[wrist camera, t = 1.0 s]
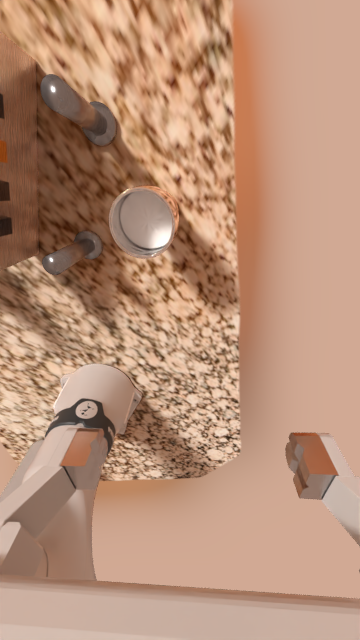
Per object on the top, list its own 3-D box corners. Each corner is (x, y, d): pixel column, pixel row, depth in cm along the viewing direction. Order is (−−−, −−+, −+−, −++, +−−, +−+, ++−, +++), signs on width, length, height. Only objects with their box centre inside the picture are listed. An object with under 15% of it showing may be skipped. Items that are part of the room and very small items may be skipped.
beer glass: (181, 236, 37) (177, 261, 24) (138, 235, 38) (111, 260, 25) (182, 186, 34) (177, 184, 21) (134, 185, 34) (101, 183, 21)
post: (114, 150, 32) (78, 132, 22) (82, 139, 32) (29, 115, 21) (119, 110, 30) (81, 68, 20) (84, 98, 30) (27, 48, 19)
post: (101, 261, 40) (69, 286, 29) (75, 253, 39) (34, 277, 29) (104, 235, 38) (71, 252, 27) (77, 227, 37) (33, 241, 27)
